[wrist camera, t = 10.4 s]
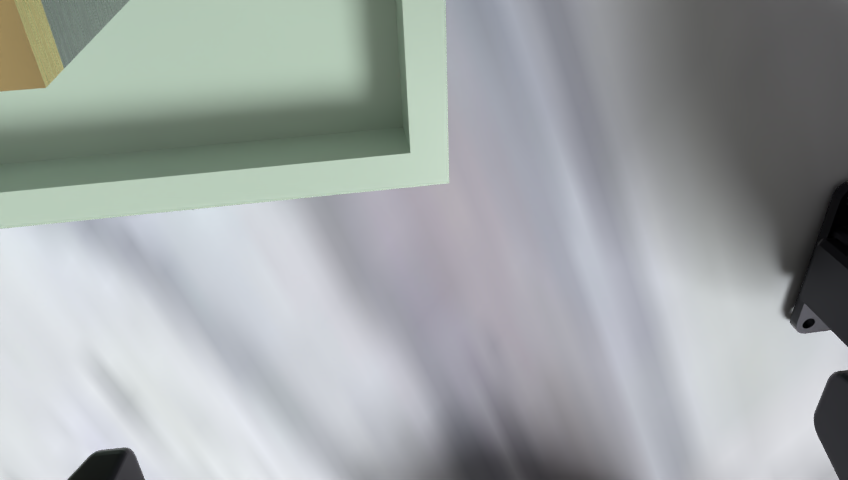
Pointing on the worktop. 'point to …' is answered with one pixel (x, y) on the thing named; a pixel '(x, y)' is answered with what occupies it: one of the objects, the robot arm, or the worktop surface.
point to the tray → (231, 109)
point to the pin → (46, 37)
